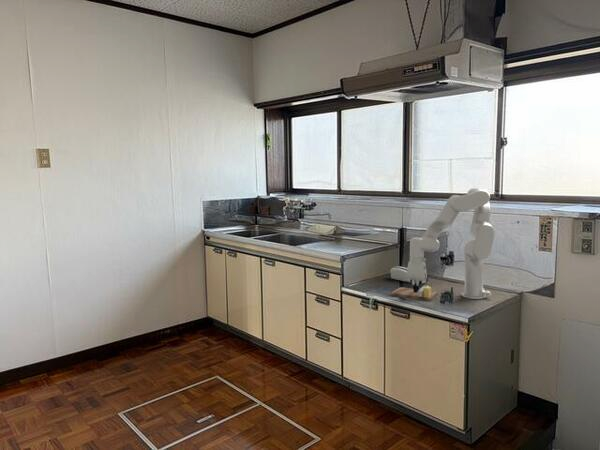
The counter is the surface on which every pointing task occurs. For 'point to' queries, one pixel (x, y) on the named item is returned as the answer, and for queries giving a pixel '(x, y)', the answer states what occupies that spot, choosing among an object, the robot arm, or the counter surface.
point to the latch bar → (421, 291)
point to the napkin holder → (399, 273)
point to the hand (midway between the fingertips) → (416, 291)
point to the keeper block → (426, 291)
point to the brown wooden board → (412, 294)
